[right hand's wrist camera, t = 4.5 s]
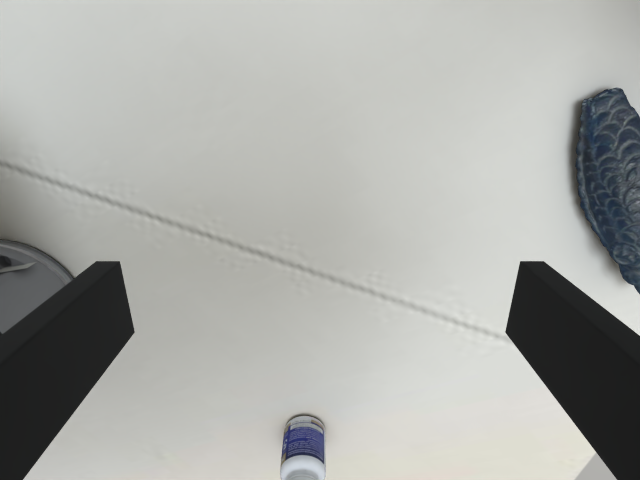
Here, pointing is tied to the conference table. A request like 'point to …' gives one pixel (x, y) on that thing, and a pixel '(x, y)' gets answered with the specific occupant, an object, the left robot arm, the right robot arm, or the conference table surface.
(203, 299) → the conference table surface
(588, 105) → the fish model
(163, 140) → the conference table surface
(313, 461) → the pill bottle
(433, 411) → the conference table surface
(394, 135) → the conference table surface
